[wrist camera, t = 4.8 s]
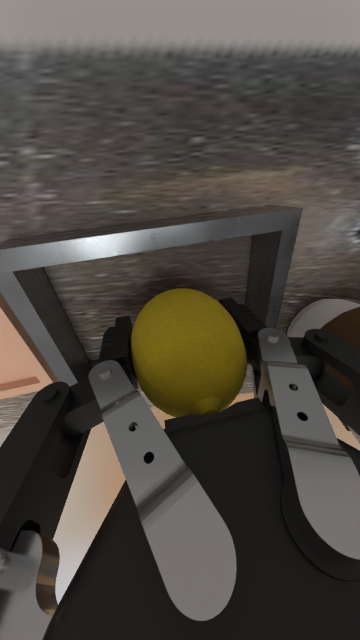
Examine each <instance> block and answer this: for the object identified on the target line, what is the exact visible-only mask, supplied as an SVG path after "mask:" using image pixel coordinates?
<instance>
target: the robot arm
mask: <svg viewBox="0 0 360 640" xmlns="http://www.w3.org/2000/svg"><path fill="white" fill-rule="evenodd" d="M219 303H220V304H221V305H222V306H223V307H224V308H225V309H226V310H227V312H228V313H229V314H230V315H231V316H232V318H233V319H234V321H235V323H236V325H237V327H238V329H239V332H240V334H241V337H242V340H243V342H244V345H245V350H246V356H247V365H248V364H251V366H252V371H251V373H252V382H253V390H254V399H249V400H245V401H242V402H237V403H235V404H233V405H232V406H230V407H228V408H226V409H224V410H223V411H221V412H219V413H217V414H215V415H185V416H181V417H177V418H173V419H169V420H165V429H163V428H162V427H161V426H160V424H159V422H158V421H157V419H156V418H155V416H154V414H153V413H152V411H151V409H150V408H149V406H148V405H147V403H146V402H145V400H144V398H143V397H142V395H141V394H140V392H139V391H138V390H135V389H138V380H137V377H136V374H135V370H134V367H133V364H132V359H131V335H132V330H133V327H132V323H131V320H130V317H129V316H124V317H118V318H116V323H115V327H109V328H108V329H107V330H106V332H105V333H104V336H103V341H102V347H101V352H100V357H99V362H98V364H97V365H96V366H94V367H93V368H92V369H91V371H90V373H89V377H88V378H86V379H85V380H83V381H81V382H79V383H76V384H74V385H72V386H70V387H69V385H68V384H67V383H65V382H54V383H51V384H49V385H47V386H45V387H44V388H42V389H41V390H40V391H39V392H38V393H37V394H36V395H35V396H34V398H33V399H32V401H31V402H30V404H29V405H28V407H27V408H26V410H25V411H24V413H23V414H22V416H21V417H20V419H19V420H18V422H17V423H16V425H15V426H14V428H13V429H12V431H11V432H10V434H9V435H8V437H7V438H6V440H5V441H4V443H3V444H2V446H1V447H0V640H360V451H359V450H357V449H356V448H354V447H352V446H350V445H348V444H347V443H345V442H343V441H341V440H339V439H338V438H336V436H335V433H334V431H333V428H332V426H331V424H330V422H329V419H328V417H327V414H326V412H325V409H324V407H323V404H324V405H325V406H326V407H327V408H328V409H329V410H331V411H332V412H333V413H334V414H335V415H336V416H337V417H339V418H340V419H341V420H342V421H343V422H344V423H345V424H347V425H348V426H349V427H350V428H351V429H352V430H353V431H355V432H356V433H357V434H358V435H359V436H360V349H359V348H358V347H356V346H354V345H352V344H350V343H349V342H347V341H345V340H343V339H341V338H340V337H338V336H336V335H334V334H333V333H331V332H328V331H326V330H322V329H310V330H307V331H306V332H305V335H304V337H288V336H287V335H286V334H285V333H284V332H282V331H281V330H278V329H274V328H268V327H267V326H266V325H265V324H264V323H263V322H262V321H261V320H260V319H259V318H258V317H257V316H256V315H255V314H254V313H252V311H251V310H250V309H249V308H248V307H246V306H244V305H242V304H237V303H236V302H235V301H234V300H233V299H232V298H225V299H220V300H219ZM329 365H330V366H331V367H333V368H334V369H336V370H337V371H339V372H340V373H341V374H343V375H344V376H346V377H347V378H348V379H350V381H351V382H352V384H353V387H354V388H353V390H351V389H350V388H348V387H347V386H345V385H344V384H343V383H341V382H340V381H339V380H337V379H336V378H335V377H333V376H332V375H330V374H329V373H328V372H326V370H327V368H328V366H329ZM322 403H323V404H322ZM103 421H104V423H105V426H106V428H107V431H108V434H109V436H110V439H111V442H112V444H113V446H114V449H115V452H116V454H117V457H118V460H119V462H120V465H121V468H122V470H123V473H124V475H125V478H126V480H125V482H124V484H123V486H122V488H121V490H120V492H119V493H118V495H117V497H116V499H115V501H114V503H113V504H112V506H111V508H110V510H109V512H108V514H107V516H106V518H105V519H104V521H103V523H102V525H101V527H100V529H99V531H98V532H97V534H96V536H95V538H94V540H93V542H92V543H91V546H90V547H89V549H88V551H87V553H86V555H85V557H84V558H83V560H82V562H81V564H80V566H79V568H78V569H77V571H76V574H75V575H74V577H73V579H72V581H71V583H70V584H69V586H68V588H67V590H66V592H65V594H64V595H63V597H62V599H61V601H60V603H59V605H58V603H57V600H56V595H55V583H56V577H57V572H58V567H59V559H60V557H59V556H60V555H59V549H58V546H57V544H56V543H55V542H54V541H53V537H54V535H55V532H56V529H57V526H58V523H59V520H60V517H61V514H62V511H63V509H64V505H65V503H66V500H67V497H68V494H69V491H70V488H71V485H72V482H73V480H74V477H75V474H76V471H77V468H78V465H79V462H80V459H81V456H82V453H83V451H84V448H85V445H86V442H87V439H88V436H89V433H90V431H91V428H92V427H94V426H96V425H98V424H100V423H102V422H103Z"/></svg>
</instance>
